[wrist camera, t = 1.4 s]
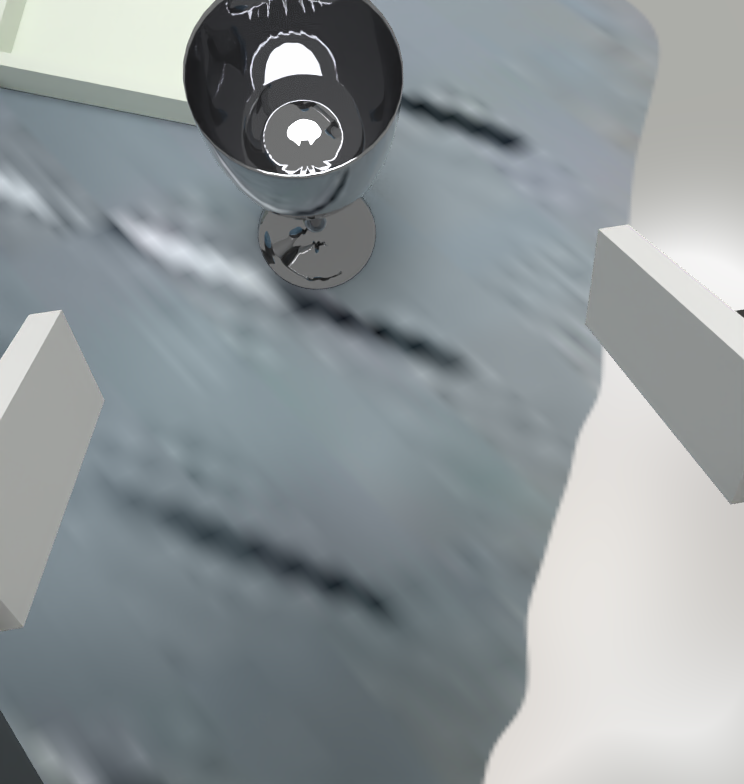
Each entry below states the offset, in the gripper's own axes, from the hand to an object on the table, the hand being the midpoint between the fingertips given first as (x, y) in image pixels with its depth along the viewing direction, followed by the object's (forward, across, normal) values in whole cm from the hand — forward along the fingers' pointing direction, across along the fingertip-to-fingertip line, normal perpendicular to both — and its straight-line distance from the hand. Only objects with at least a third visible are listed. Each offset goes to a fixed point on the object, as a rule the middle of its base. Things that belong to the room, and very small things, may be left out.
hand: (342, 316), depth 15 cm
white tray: (+33, -9, +5) cm, 35 cm away
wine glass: (+22, 0, -7) cm, 23 cm away
